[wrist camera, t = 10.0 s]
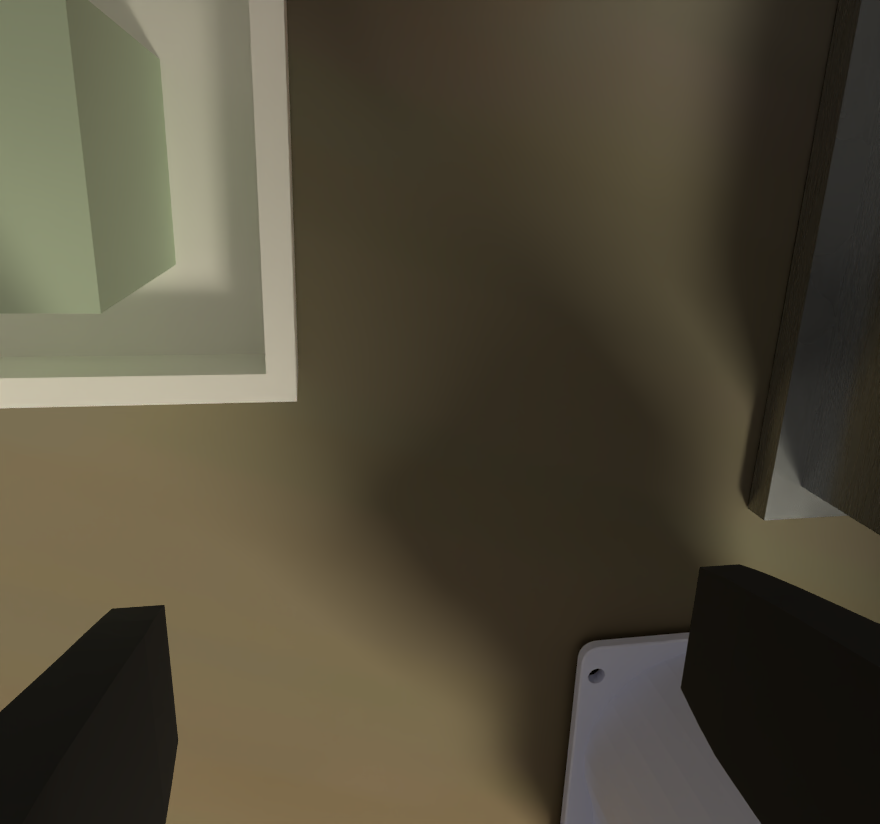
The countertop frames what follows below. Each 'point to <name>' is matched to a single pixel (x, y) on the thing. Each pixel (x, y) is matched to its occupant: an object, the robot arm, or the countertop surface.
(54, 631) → the countertop surface
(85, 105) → the sage green block
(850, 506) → the grey unit
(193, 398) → the off-white tray
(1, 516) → the countertop surface
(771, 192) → the countertop surface
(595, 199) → the countertop surface
